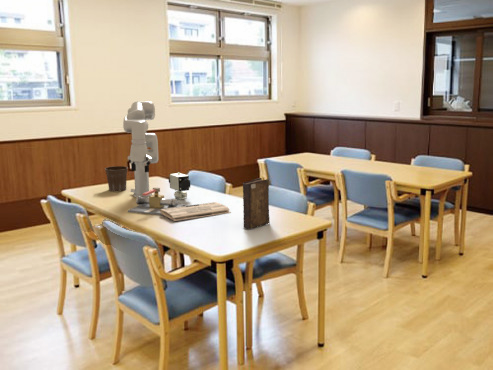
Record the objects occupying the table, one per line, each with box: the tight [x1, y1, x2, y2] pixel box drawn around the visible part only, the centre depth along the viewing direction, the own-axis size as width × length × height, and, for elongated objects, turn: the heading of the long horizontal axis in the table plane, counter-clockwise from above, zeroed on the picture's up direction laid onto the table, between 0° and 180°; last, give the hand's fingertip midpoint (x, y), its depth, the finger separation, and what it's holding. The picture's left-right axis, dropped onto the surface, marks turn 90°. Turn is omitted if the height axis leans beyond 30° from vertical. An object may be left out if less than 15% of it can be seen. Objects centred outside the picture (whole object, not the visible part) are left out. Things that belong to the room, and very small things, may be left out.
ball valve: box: [168, 171, 191, 200], centre depth 321 cm, size 18×8×18 cm, turn 36°
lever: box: [143, 187, 161, 196], centre depth 288 cm, size 16×4×2 cm, turn 161°
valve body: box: [135, 192, 179, 209], centre depth 295 cm, size 25×6×9 cm, turn 71°
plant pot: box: [104, 165, 129, 192], centre depth 350 cm, size 16×16×16 cm
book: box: [242, 177, 270, 230], centre depth 257 cm, size 17×7×25 cm, turn 133°
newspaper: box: [160, 201, 231, 222], centre depth 284 cm, size 37×19×3 cm, turn 124°
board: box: [127, 203, 186, 216], centre depth 295 cm, size 26×25×1 cm
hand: (140, 171), depth 284 cm, fingers open, 9 cm apart
